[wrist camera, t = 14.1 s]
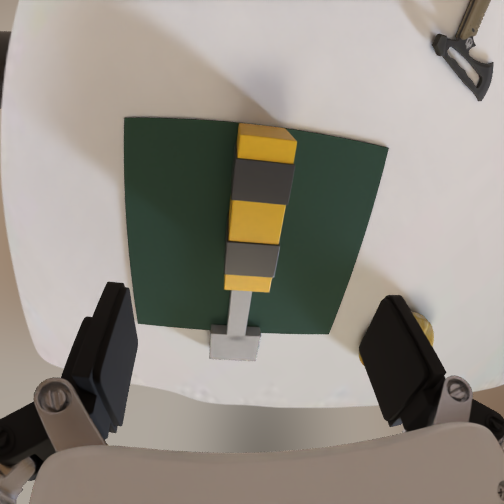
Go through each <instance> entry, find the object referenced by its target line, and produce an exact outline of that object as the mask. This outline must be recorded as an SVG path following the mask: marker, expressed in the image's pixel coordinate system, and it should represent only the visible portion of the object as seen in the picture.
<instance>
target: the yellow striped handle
mask: <svg viewBox="0 0 504 504" xmlns="http://www.w3.org/2000/svg"><path fill="white" fill-rule="evenodd" d="M296 146H297V141H296V140H295V139H294V137H293V136H292V135H291V134H290V133H289V132H288V131H287V130H286V129H285V128H278V127H271V126H263V125H254V124H245V123H239V126H238V135H237V142H235V147H234V156H233V165H232V174H231V198H230V208H229V212H228V213H227V223H226V234H225V250H224V289H225V290H230V299H229V309H228V318H227V325H214V324H211V334H210V355H209V358H210V359H219V360H239V361H256V357H257V352H258V348H259V343H260V338H261V332H260V327H248V326H247V321H248V314H249V308H250V302H251V296H252V291H253V292H269V291H270V286H271V281H272V278H274V275H275V270H276V265H277V260H278V255H279V250H280V243H279V240H280V234H281V229H282V224H283V218H284V213H285V208H286V205H288V203H289V198H290V193H291V187H292V182H293V176H294V171H295V164H294V157H295V152H296Z"/></svg>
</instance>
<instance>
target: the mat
mask: <svg viewBox="0 0 504 504" xmlns="http://www.w3.org/2000/svg"><path fill="white" fill-rule="evenodd" d="M245 124H246V123H245ZM254 125H256V124H254ZM238 126H239V123H236V122H225V121H213V120H197V119H177V118H124V180H125V204H126V221H127V235H128V247H129V257H130V267H131V276H132V284H133V292H134V299H135V307H136V313H137V320H138V324H147V325H157V326H167V327H177V328H189V329H202V330H211V324H214V325H227V318H228V309H229V299H230V290H225V289H224V250H225V234H226V223H227V213H228V212H229V208H230V198H231V174H232V165H233V156H234V147H235V142H237V135H238ZM263 126H264V125H263ZM271 127H272V126H271ZM278 128H280V127H278ZM285 129H286V130H287V131H288V132H289V133H290V134H291V135H292V136H293V137H294V139H295V140H296V141H297V146H296V152H295V157H294V164H295V171H294V176H293V182H292V187H291V193H290V198H289V203H288V205H286V208H285V213H284V218H283V224H282V229H281V234H280V240H279V243H280V250H279V255H278V260H277V265H276V270H275V275H274V278H272V281H271V286H270V291H269V292H253V291H252V296H251V302H250V308H249V314H248V321H247V326H248V327H260V332H261V333H280V334H329V332H330V330H331V327H332V325H333V322H334V320H335V317H336V314H337V312H338V309H339V307H340V304H341V301H342V299H343V296H344V293H345V290H346V288H347V285H348V282H349V279H350V277H351V274H352V271H353V268H354V265H355V262H356V259H357V256H358V253H359V250H360V247H361V244H362V241H363V238H364V235H365V231H366V228H367V225H368V222H369V218H370V215H371V212H372V208H373V205H374V202H375V198H376V195H377V191H378V187H379V184H380V180H381V176H382V172H383V169H384V165H385V161H386V157H387V153H388V149H389V148H387V147H382V146H378V145H374V144H369V143H365V142H360V141H355V140H351V139H346V138H341V137H335V136H330V135H324V134H319V133H313V132H307V131H300V130H294V129H287V128H285Z"/></svg>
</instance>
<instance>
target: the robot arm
mask: <svg viewBox="0 0 504 504" xmlns="http://www.w3.org/2000/svg"><path fill="white" fill-rule="evenodd" d="M137 348H138V339H137V333H136V327H135V322H134V316H133V309H132V303H131V296H130V290H129V288H126V287H125V286H124V283H117V282H107V284H106V286H105V288H104V291H103V293H102V295H101V298H100V300H99V302H98V305H97V307H96V309H95V312H94V314H93V317H85V318H84V320H83V321H82V324H81V326H80V329H79V331H78V334H77V336H76V339H75V341H74V344H73V346H72V349H71V351H70V354H69V357H68V359H67V362H66V365H65V368H64V370H63V373H62V376H61V378H49V379H46V380H45V381H43V382H41V383H40V384H39V386H38V387H37V388H36V390H35V393H34V402H32V403H30V404H28V405H26V406H25V407H23V408H21V409H19V410H17V411H15V412H13V413H11V414H9V415H8V416H6V417H4V418H2V419H0V504H16V499H17V497H18V495H19V494H20V493H21V492H22V490H23V489H22V486H23V485H24V484H25V483H26V482H27V481H32V480H35V483H34V485H33V489H32V493H31V497H30V502H29V504H504V419H503V417H502V416H501V415H500V414H499V413H497V412H496V411H494V410H492V409H490V408H488V407H486V406H485V405H483V404H481V403H479V402H478V401H476V400H474V399H472V397H473V392H472V389H471V387H470V385H469V384H468V382H467V381H466V380H464V379H463V378H461V377H459V376H449V377H447V378H446V379H445V377H444V375H445V374H446V371H445V369H444V367H443V365H442V363H441V362H440V360H439V358H438V356H437V354H436V353H435V351H434V349H433V347H432V346H431V344H430V342H429V340H428V339H427V337H426V335H425V333H424V332H423V330H422V328H421V327H420V325H419V323H418V322H417V320H416V318H415V317H414V315H413V313H412V312H411V310H410V308H409V307H408V305H407V304H406V302H405V300H404V299H403V297H402V296H400V295H388V296H386V297H385V299H383V300H382V301H381V302H380V305H379V307H378V309H377V311H376V313H375V315H374V317H373V320H372V322H371V324H370V326H369V328H368V330H367V332H366V334H365V336H364V338H363V340H362V342H361V344H360V347H359V353H360V356H361V358H362V361H363V363H364V366H365V369H366V371H367V374H368V376H369V379H370V382H371V384H372V387H373V390H374V392H375V395H376V398H377V401H378V403H379V406H380V409H381V412H382V414H383V417H384V419H385V420H386V421H388V423H389V426H390V427H393V426H397V425H401V424H403V426H404V429H403V431H402V433H400V434H396V435H392V436H387V437H382V438H377V439H372V440H368V441H362V442H356V443H350V444H343V445H337V446H329V447H322V448H312V449H302V450H292V451H276V452H256V453H255V452H254V453H208V452H187V451H169V450H158V449H147V448H137V447H125V446H109V445H108V444H107V443H106V441H105V439H106V438H108V433H109V432H112V433H116V431H117V426H122V424H123V419H124V413H125V408H126V402H127V397H128V392H129V386H130V381H131V376H132V371H133V367H134V362H135V357H136V353H137Z"/></svg>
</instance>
